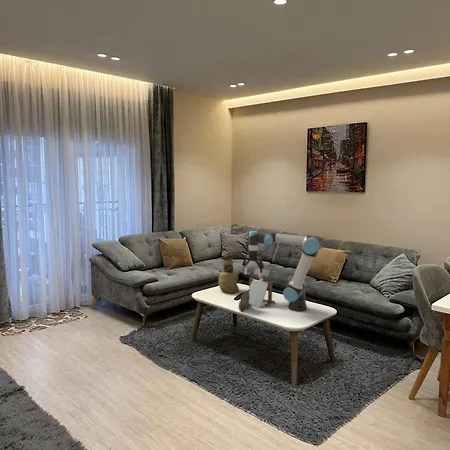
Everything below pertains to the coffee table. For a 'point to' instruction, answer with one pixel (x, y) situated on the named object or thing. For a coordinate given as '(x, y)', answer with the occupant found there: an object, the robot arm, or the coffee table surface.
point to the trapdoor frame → (268, 293)
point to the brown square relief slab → (244, 301)
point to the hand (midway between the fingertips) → (252, 275)
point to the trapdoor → (259, 287)
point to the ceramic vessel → (228, 277)
